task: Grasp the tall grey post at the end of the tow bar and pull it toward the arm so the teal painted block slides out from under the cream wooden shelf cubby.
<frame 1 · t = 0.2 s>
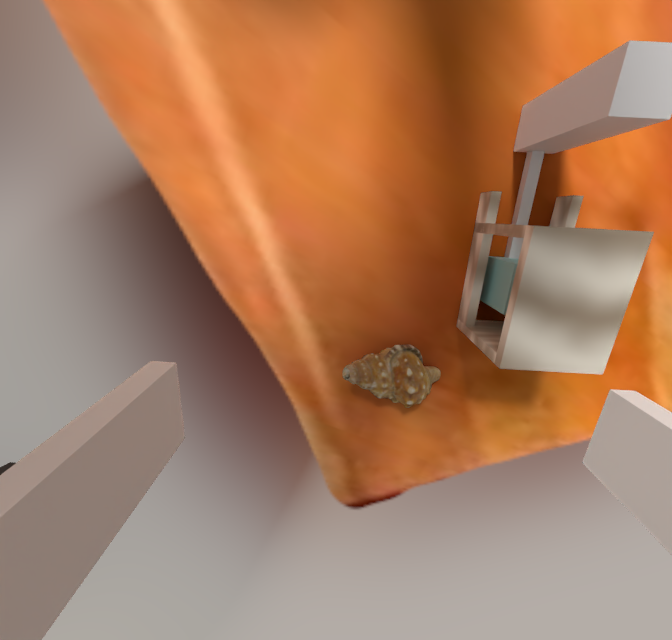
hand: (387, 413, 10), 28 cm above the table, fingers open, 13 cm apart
shelf: (510, 252, 35), on the table
sled: (504, 279, 36), on the table
seashell: (389, 366, 40), on the table
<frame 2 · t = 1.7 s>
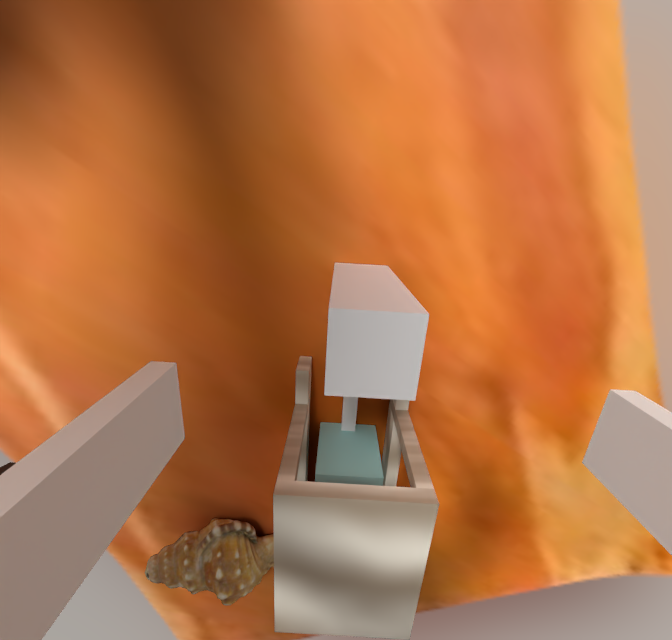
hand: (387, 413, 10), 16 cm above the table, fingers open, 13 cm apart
shelf: (348, 419, 28), on the table
sled: (346, 445, 29), on the table
seashell: (230, 530, 34), on the table
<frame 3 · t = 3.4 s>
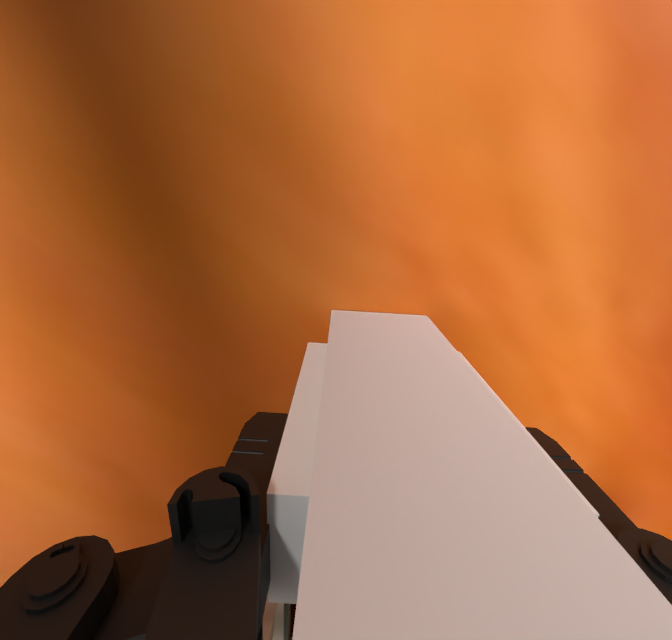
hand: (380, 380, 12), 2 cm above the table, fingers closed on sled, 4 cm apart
shelf: (354, 551, 18), on the table
sled: (350, 587, 18), on the table, touching gripper
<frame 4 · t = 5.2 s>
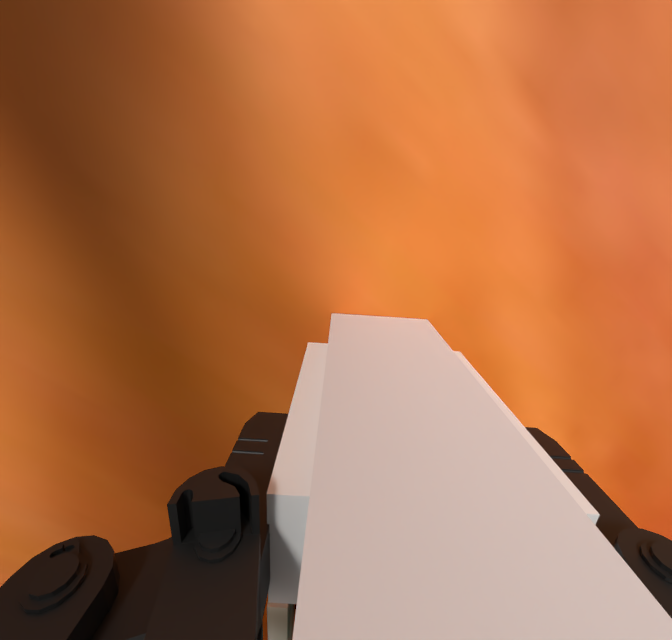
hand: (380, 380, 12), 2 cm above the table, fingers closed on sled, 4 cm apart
shelf: (349, 626, 20), on the table
sled: (349, 590, 18), on the table, touching gripper
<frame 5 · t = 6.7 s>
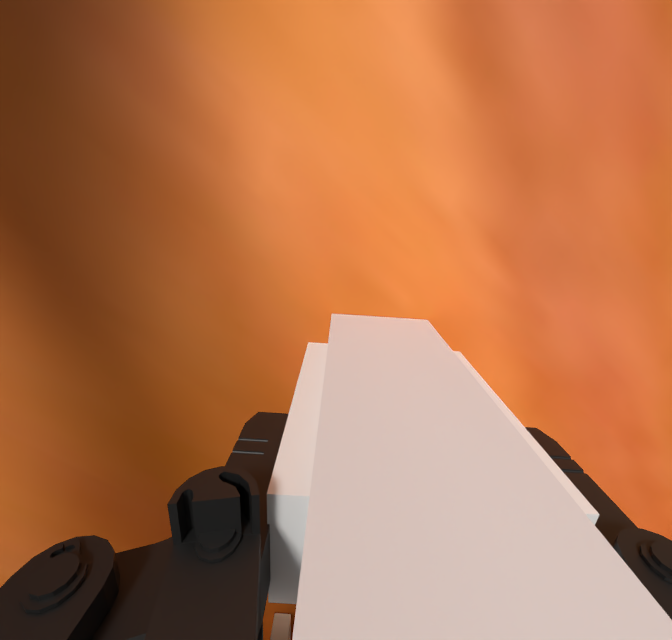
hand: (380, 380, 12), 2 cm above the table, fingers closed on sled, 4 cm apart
sled: (349, 591, 18), on the table, touching gripper
when the fingers open (2 cm above the table, at t = 7.1 s): sled stays where it is, on the table.
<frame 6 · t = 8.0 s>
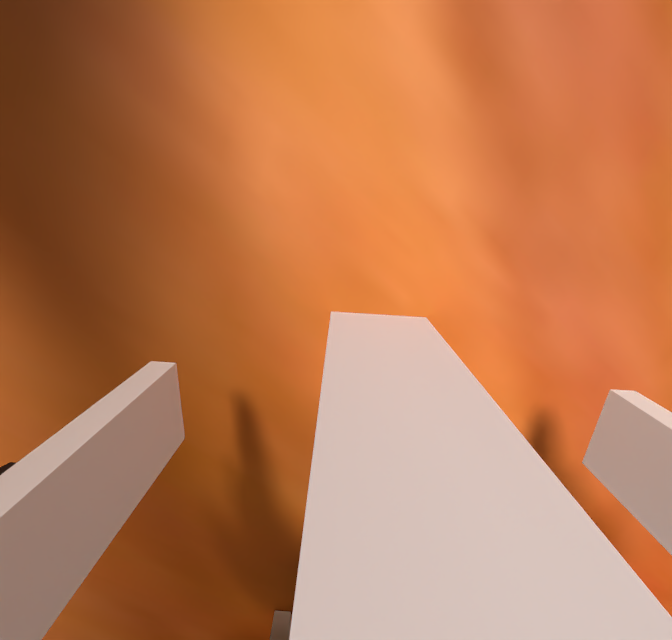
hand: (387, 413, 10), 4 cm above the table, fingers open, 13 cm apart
sled: (349, 588, 19), on the table
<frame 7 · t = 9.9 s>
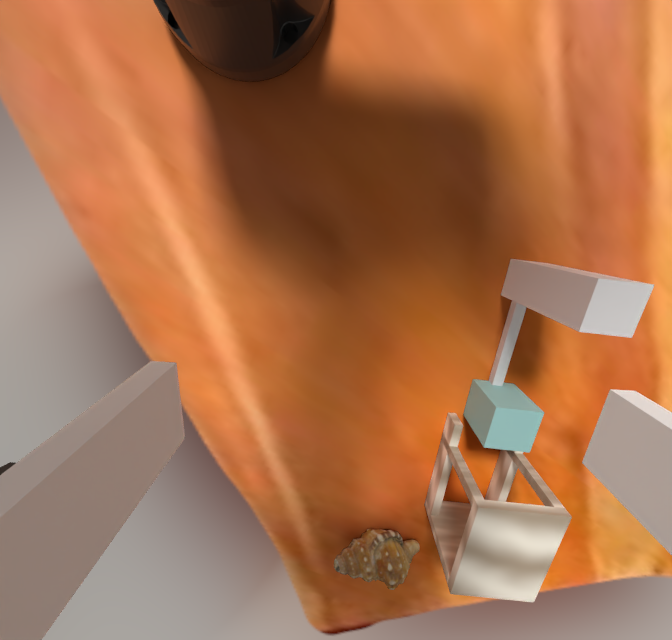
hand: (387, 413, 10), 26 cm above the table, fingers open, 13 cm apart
shelf: (471, 455, 41), on the table
sled: (488, 399, 39), on the table
seashell: (376, 537, 46), on the table
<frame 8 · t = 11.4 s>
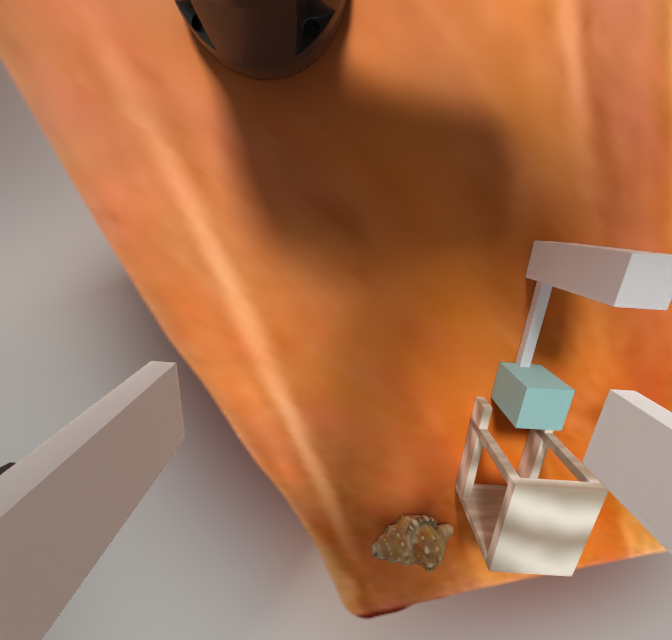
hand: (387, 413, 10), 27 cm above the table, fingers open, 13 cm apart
shelf: (500, 437, 42), on the table
sled: (515, 381, 39), on the table
seashell: (409, 523, 47), on the table
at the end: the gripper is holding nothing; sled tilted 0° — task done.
